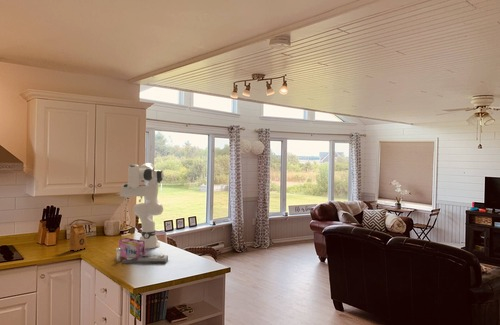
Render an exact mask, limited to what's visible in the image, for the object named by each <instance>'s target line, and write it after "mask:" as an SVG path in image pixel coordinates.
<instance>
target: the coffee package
mask: <svg viewBox="0 0 500 325" xmlns="http://www.w3.org/2000/svg"><path fill="white" fill-rule="evenodd" d="M84 228H85V227H84V223H80V224H73V225H71V228H70V230H69V251H70V250H74V251H75V252H76V251H77V250H78V251H81V250H80V249H82V250H85V249H84V248H86V249H87V233H86V231H85V229H84ZM78 251H77V252H78Z"/></svg>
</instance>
